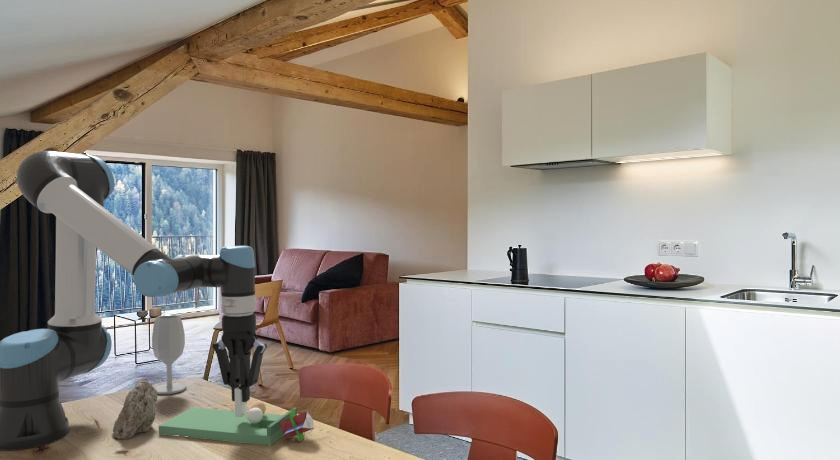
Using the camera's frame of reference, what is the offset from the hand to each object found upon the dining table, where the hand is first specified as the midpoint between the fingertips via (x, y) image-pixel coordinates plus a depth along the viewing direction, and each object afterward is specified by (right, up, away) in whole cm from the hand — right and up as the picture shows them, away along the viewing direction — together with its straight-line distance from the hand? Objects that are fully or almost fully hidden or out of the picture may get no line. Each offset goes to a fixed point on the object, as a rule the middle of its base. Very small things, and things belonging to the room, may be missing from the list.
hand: (241, 415), depth 142 cm
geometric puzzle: (+14, -4, -6) cm, 15 cm away
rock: (-25, -4, +1) cm, 25 cm away
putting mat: (-3, -4, +1) cm, 5 cm away
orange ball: (+3, 0, +4) cm, 5 cm away
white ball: (+3, 0, -1) cm, 4 cm away
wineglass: (-29, -3, +31) cm, 43 cm away
